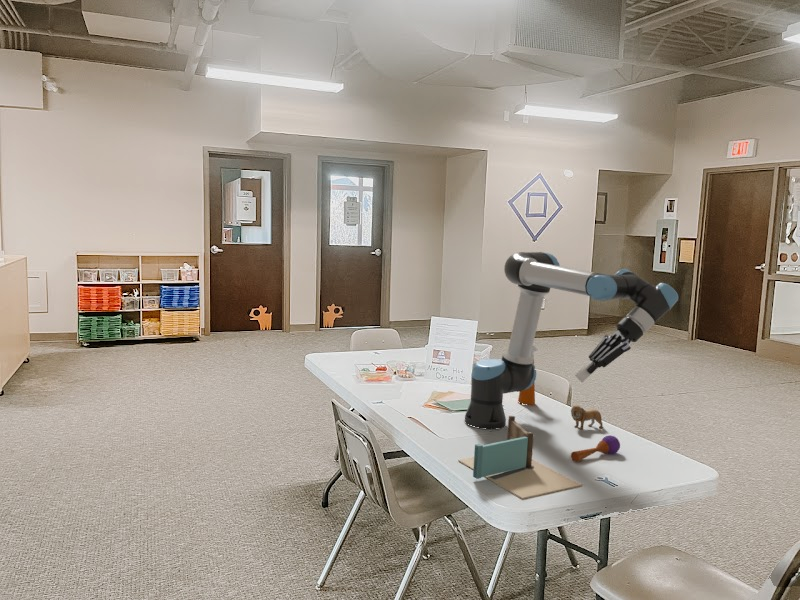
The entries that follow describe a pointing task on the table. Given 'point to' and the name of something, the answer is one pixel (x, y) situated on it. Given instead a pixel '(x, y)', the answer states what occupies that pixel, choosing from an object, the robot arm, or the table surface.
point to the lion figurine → (585, 416)
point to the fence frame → (518, 432)
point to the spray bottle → (528, 394)
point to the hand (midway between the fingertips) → (578, 378)
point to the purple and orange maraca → (598, 448)
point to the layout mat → (529, 480)
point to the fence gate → (499, 457)
